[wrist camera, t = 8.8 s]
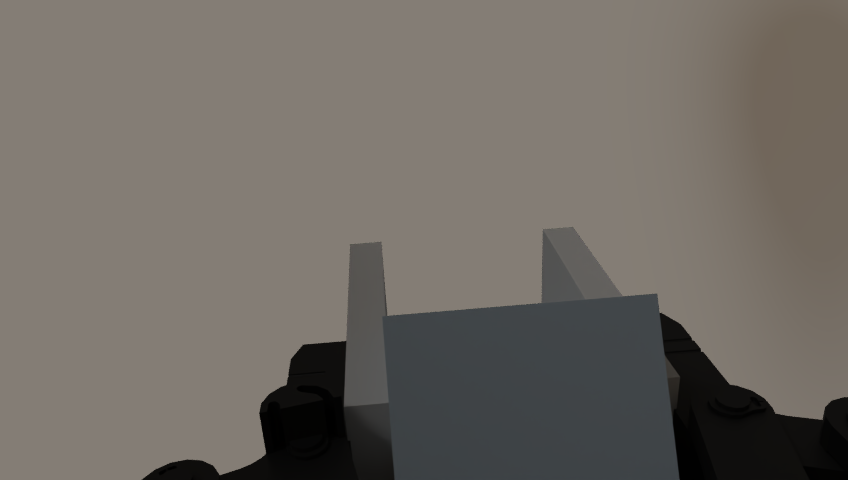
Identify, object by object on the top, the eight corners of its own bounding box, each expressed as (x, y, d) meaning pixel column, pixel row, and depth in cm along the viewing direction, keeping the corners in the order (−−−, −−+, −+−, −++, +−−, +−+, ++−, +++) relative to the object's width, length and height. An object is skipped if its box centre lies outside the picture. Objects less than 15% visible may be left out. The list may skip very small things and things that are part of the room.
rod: (404, 611, 10) (381, 316, 10) (396, 408, 34) (390, 323, 34) (691, 581, 10) (657, 293, 10) (481, 401, 34) (473, 316, 34)
